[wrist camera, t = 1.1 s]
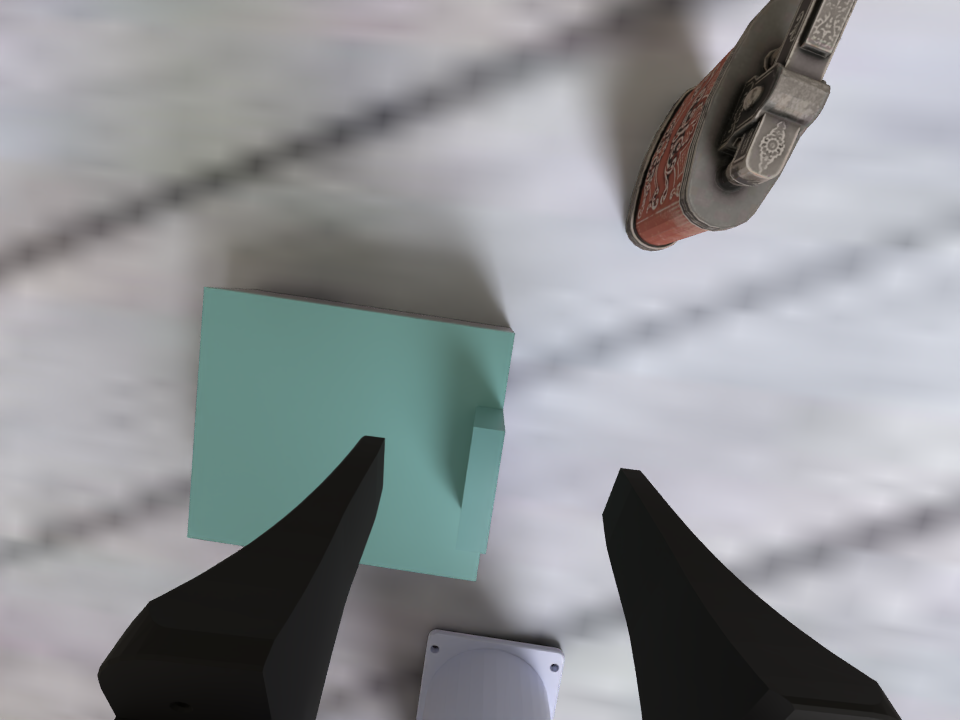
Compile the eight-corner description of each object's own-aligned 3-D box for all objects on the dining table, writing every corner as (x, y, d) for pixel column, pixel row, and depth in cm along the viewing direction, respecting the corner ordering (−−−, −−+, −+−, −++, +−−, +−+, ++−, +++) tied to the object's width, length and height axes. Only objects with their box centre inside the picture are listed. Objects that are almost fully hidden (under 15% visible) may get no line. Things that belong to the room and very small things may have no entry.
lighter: (672, 260, 24) (801, 231, 14) (612, 237, 24) (698, 191, 14) (737, 107, 23) (927, -44, 13) (674, 82, 23) (816, -88, 13)
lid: (476, 560, 23) (472, 634, 18) (210, 519, 24) (129, 582, 18) (512, 330, 22) (519, 339, 17) (227, 288, 22) (144, 283, 17)
